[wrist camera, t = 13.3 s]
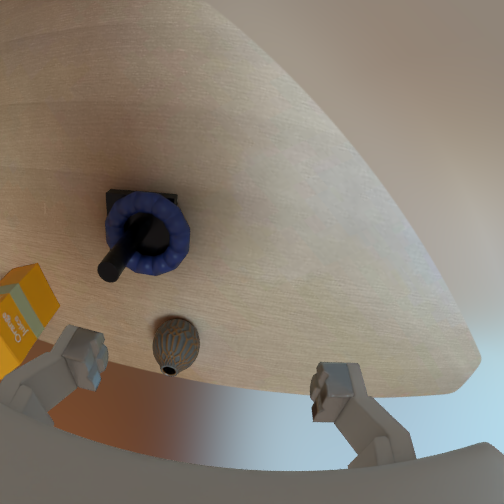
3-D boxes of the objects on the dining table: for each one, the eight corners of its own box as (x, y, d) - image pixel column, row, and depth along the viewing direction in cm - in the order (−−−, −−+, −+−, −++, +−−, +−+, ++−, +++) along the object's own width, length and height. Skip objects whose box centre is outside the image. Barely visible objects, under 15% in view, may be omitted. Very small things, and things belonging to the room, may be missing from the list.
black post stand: (110, 188, 36) (63, 226, 26) (177, 194, 37) (147, 236, 27) (114, 251, 41) (78, 301, 31) (176, 259, 41) (152, 314, 31)
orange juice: (38, 262, 42) (-34, 344, 24) (60, 306, 46) (4, 392, 29) (11, 268, 43) (-55, 342, 25) (33, 308, 47) (-21, 386, 29)
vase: (156, 309, 45) (140, 351, 38) (201, 313, 45) (192, 357, 38) (162, 341, 49) (149, 383, 41) (203, 346, 49) (195, 388, 41)
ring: (108, 185, 35) (100, 192, 32) (194, 194, 35) (190, 201, 33) (113, 262, 40) (106, 271, 38) (189, 273, 40) (185, 284, 38)
